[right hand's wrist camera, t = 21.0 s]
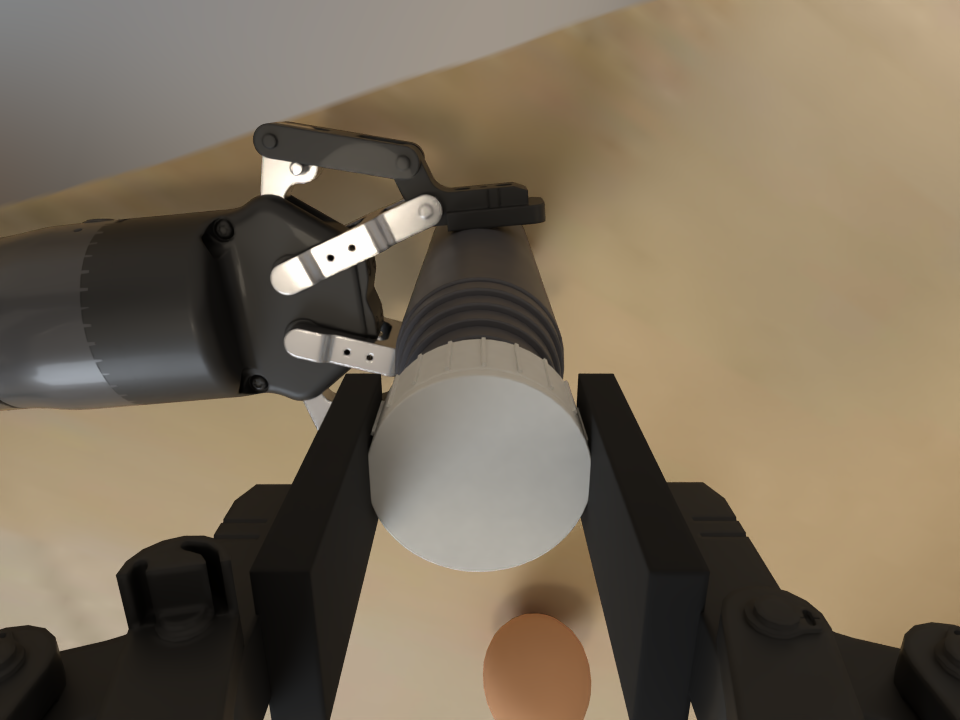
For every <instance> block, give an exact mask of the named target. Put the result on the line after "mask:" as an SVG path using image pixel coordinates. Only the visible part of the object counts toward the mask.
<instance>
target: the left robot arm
mask: <svg viewBox="0 0 960 720" xmlns="http://www.w3.org/2000/svg"><path fill="white" fill-rule="evenodd" d="M253 143H254V146H255V148H256V150H257V151H258V153H259V154H261V155H262V171H261V195H260V196H257V197H255V198H253V199H252V200H250V201H249V202H248V203H246V204H245V205H244V206H242V207H240V208H235V209H228V210H218V211H207V212H196V213H186V214H175V215H164V216H154V217H143V218H133V219H122V220H114V219H92V220H87V221H86V222H83V223H80V224H70V225H61V226H54V227H47V228H42V229H38V230H33V231H29V232H26V233H22V234H18V235H13V236H8V237H2V238H0V411H5V410H17V409H27V408H51V409H68V410H83V409H99V408H111V407H123V406H135V405H148V404H159V403H171V402H183V401H195V400H206V399H218V398H230V397H241V396H248V395H254V394H260V393H275V394H280V395H283V396H286V397H288V398H291V399H293V400H298V401H303V402H304V404H305V406H306V408H307V410H308V412H309V414H310V416H311V418H312V420H313V422H314V424H315V426H316V428H317V430H319V428H320V426H321V424H322V422H323V420H324V418H325V416H326V413H327V411H328V409H329V407H330V405H331V403H332V401H333V399H334V397H335V395H336V393H334V392H332V391H331V390H330V389H329V387H330V386H331V385H332V384H334V383H335V382H336V381H337V380H338V379H339V378H340V377H342V376H343V375H344V374H345V373H346V372H347V371H349V370H350V369H351V368H354V369H358V370H363V371H367V372H371V373H376V374H381V375H384V376H390V377H395V376H396V375H395V348H396V342H397V337H398V334H399V331H400V328H401V325H402V322H401V321H397V320H393V319H389V318H385V317H384V316H383V310H382V303H381V301H380V299H379V297H378V294H377V292H376V290H375V287H374V281H375V272H376V263H375V255H377V254H379V253H381V252H383V251H385V250H386V249H388V248H390V247H391V246H393V245H394V244H396V243H398V242H401V241H403V240H405V239H407V238H409V237H411V236H413V235H415V234H418V233H420V232H422V231H424V230H426V229H428V228H430V227H433V226H444V225H447V228H448V232H451V231H461V230H469V229H478V228H479V229H483V228H493V227H504V226H515V225H526V224H536V223H541V222H544V221H545V204H544V201H543V199H542V198H541V197H528V190H527V188H526V186H524V185H520V184H517V183H514V182H507V183H498V184H488V185H476V186H465V187H455V188H449V187H445V186H442V185H440V184H439V183H438V182H437V181H436V180H435V179H434V177H433V175H432V173H431V171H430V169H429V167H428V165H427V163H426V161H425V156H424V152H423V150H422V149H421V147H420V146H419V145H417V144H415V143H413V142H408V141H402V140H396V139H390V138H384V137H378V136H372V135H366V134H360V133H354V132H348V131H342V130H336V129H330V128H324V127H318V126H312V125H306V124H300V123H294V122H274V123H267V124H263V125H261V126H259V127H258V128H257V129H256V131H255V133H254V136H253ZM323 167H324V168H330V169H336V170H342V171H348V172H354V173H360V174H367V175H373V176H379V177H385V178H391V179H394V180H395V182H396V184H397V186H398V188H399V190H400V192H401V194H402V196H403V199H401V200H399V201H396V202H394V203H392V204H390V205H388V206H385V207H382V208H380V209H378V210H375V211H373V212H371V213H369V214H367V215H365V216H363V217H361V218H359V219H357V220H355V221H352V222H350V223H348V224H346V225H343V224H341V223H339V222H337V221H336V220H334V219H332V218H330V217H329V216H327V215H325V214H323V213H322V212H320V211H318V210H316V209H315V208H313V207H311V206H309V205H307V204H306V203H304V202H302V201H300V200H299V199H297V198H295V197H294V196H292V195H291V191H292V189H293V187H294V186H295V185H296V184H298V183H308V182H310V181H312V180H314V179H316V178H318V177H319V175H320V174H321V172H322V169H323ZM380 331H381V332H382V333H380ZM370 355H372V356H370ZM388 392H389V391H388ZM388 392H385V393H382V401H385V398H386V396H387V394H388Z"/></svg>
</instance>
